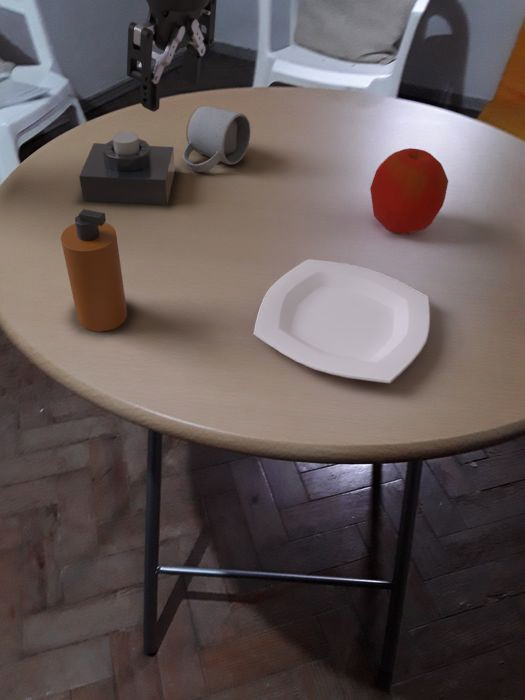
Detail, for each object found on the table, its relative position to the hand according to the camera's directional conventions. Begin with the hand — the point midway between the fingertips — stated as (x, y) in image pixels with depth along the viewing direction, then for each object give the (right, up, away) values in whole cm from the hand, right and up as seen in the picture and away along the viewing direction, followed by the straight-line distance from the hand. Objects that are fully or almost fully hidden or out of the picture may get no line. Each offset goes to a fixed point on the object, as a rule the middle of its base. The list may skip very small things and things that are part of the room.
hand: (170, 95), depth 79 cm
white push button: (-8, -3, +11) cm, 14 cm away
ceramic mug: (+4, -2, +22) cm, 23 cm away
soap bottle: (-7, -28, -6) cm, 29 cm away
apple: (+31, -14, +11) cm, 36 cm away
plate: (+21, -29, -5) cm, 36 cm away
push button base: (-8, -7, +15) cm, 19 cm away
